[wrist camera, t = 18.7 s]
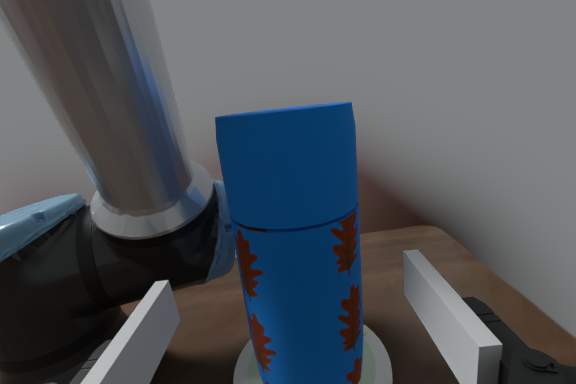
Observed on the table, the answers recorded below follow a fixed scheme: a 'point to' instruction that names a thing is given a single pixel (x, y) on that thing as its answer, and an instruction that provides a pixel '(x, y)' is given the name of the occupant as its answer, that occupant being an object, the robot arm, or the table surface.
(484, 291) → the table surface
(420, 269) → the robot arm
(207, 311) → the table surface
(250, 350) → the levelling base
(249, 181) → the thermos
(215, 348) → the table surface
